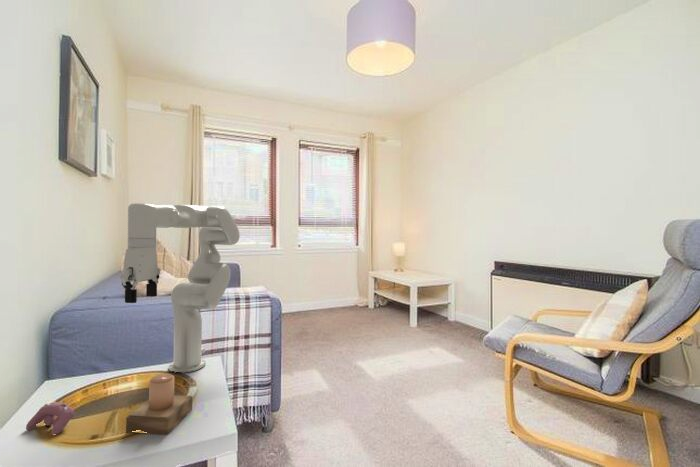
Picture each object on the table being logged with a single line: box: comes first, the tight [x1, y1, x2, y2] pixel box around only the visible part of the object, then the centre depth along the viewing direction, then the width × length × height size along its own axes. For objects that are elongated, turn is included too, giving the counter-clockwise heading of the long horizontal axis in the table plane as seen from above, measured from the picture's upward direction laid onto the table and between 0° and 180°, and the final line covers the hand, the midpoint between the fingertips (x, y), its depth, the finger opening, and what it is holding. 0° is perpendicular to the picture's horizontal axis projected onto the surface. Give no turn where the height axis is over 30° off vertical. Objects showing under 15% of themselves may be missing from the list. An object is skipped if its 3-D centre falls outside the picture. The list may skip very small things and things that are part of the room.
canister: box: [148, 373, 176, 410], centre depth 94 cm, size 6×6×7 cm
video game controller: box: [25, 401, 75, 435], centre depth 90 cm, size 10×5×7 cm, turn 76°
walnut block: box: [125, 394, 193, 436], centre depth 94 cm, size 12×11×4 cm
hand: (141, 299), depth 106 cm, fingers open, 9 cm apart
